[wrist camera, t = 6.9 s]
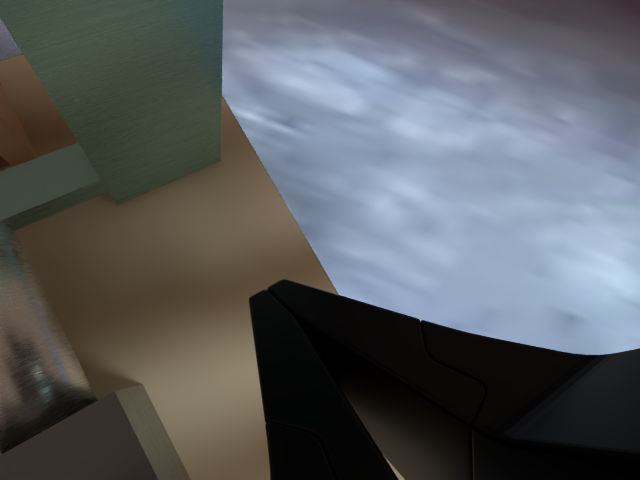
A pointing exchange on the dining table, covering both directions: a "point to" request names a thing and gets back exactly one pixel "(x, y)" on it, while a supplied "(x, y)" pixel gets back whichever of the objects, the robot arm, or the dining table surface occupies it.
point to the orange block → (12, 137)
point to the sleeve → (100, 445)
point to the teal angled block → (96, 161)
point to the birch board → (170, 286)
